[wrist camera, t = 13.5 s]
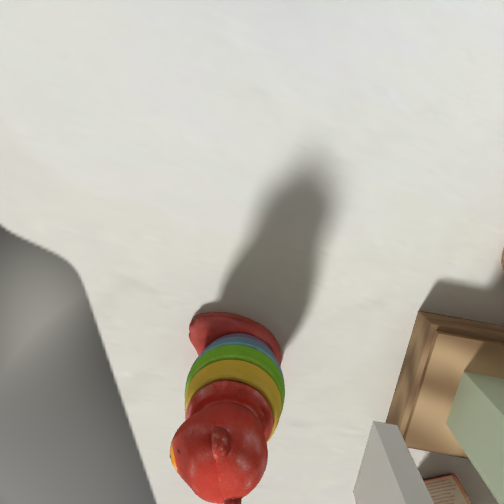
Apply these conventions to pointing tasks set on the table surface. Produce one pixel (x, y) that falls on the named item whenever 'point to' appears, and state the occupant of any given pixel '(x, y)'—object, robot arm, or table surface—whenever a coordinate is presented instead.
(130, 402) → the table surface
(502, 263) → the peach rounded cylinder
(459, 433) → the sage block
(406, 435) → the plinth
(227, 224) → the table surface
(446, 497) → the cracker box
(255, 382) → the stacking bear
